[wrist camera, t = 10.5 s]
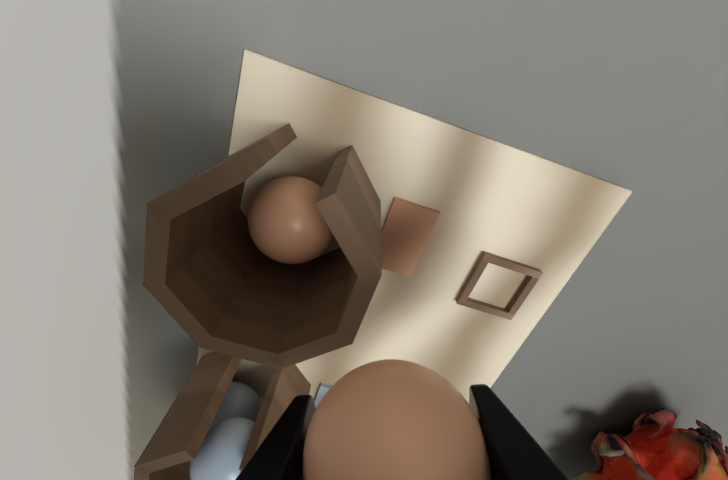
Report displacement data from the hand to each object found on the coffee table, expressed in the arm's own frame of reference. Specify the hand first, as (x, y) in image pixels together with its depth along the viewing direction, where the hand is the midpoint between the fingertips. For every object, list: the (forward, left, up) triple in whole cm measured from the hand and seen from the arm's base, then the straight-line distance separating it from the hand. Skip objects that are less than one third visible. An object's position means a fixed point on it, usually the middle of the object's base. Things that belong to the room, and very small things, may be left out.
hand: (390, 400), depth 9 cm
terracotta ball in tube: (+4, 0, -10) cm, 11 cm away
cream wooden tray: (-2, +7, -11) cm, 13 cm away
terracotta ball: (0, 0, -1) cm, 1 cm away
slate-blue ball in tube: (+4, +14, -10) cm, 18 cm away
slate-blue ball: (+5, +15, -5) cm, 16 cm away
